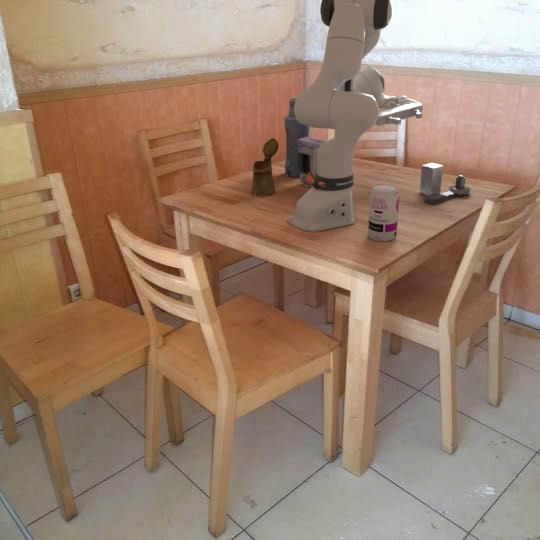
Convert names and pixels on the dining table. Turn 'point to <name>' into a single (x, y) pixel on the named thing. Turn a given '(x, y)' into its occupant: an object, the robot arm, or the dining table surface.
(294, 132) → the bottle
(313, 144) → the cake pan box
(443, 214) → the dining table surface
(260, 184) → the wooden mug
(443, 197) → the ratchet
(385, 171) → the dining table surface
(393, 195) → the supplement can
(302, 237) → the dining table surface
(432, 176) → the tall grey pillar block
